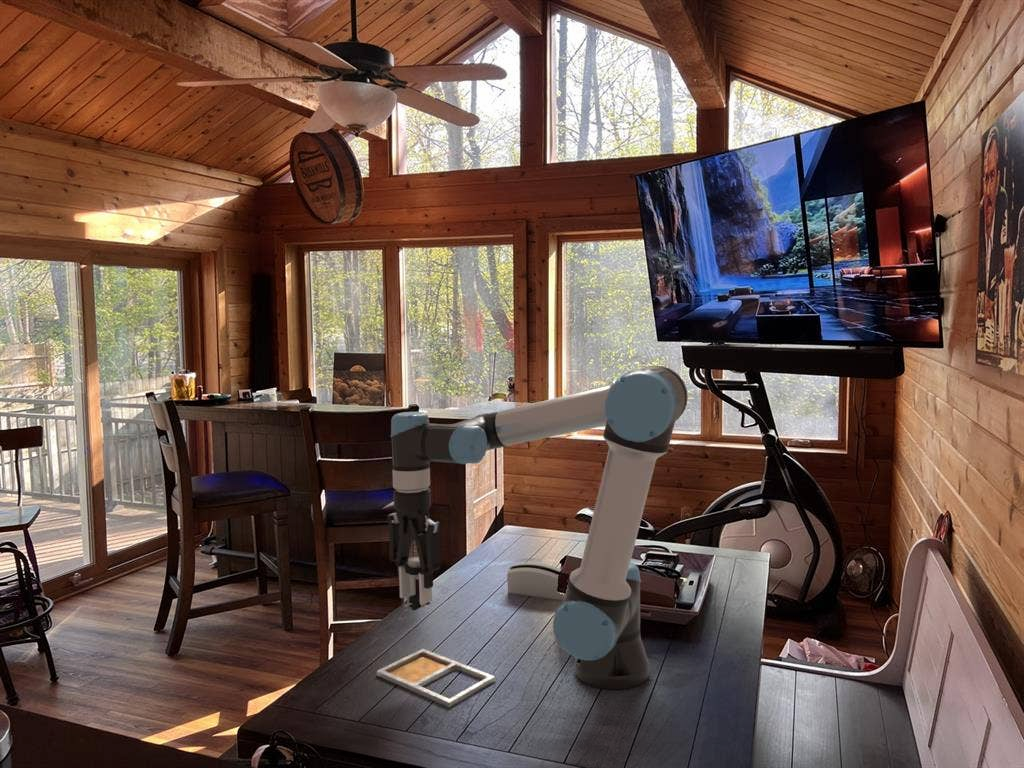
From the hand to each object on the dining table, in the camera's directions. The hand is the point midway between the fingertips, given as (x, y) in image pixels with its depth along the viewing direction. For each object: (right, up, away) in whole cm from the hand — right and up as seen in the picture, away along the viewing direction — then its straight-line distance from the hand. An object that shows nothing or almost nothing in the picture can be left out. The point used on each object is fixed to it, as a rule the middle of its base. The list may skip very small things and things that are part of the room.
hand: (415, 598), depth 158 cm
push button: (0, -2, 0) cm, 2 cm away
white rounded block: (+27, -11, +43) cm, 51 cm away
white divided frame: (+4, -16, -2) cm, 16 cm away
